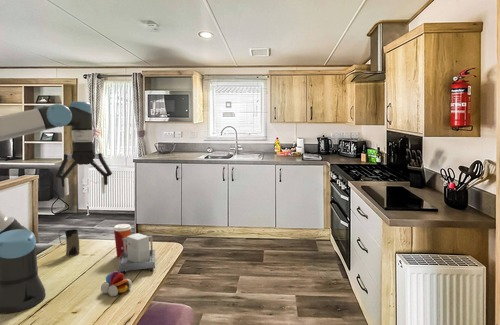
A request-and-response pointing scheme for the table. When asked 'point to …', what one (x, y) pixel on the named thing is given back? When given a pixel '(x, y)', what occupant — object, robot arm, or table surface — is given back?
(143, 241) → the small box
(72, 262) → the table surface
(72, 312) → the table surface
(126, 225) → the paper cup
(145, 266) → the grey storage bin
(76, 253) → the mug
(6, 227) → the robot arm
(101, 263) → the table surface
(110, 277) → the rainbow segmented toy
